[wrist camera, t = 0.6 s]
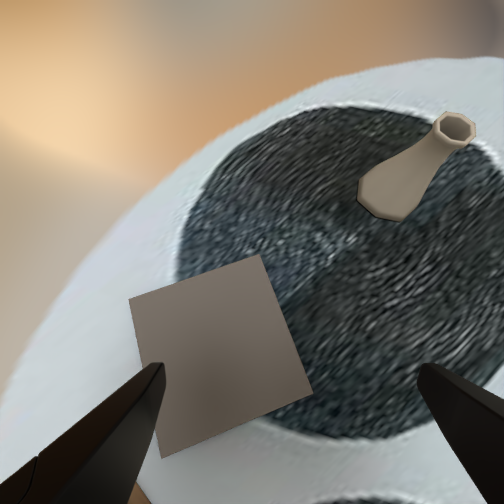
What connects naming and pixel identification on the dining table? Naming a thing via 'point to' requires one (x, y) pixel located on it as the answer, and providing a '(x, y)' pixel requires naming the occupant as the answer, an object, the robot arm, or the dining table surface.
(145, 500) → the walnut box
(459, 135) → the flask
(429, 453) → the dining table surface
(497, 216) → the dining table surface
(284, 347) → the grey-brown square block
